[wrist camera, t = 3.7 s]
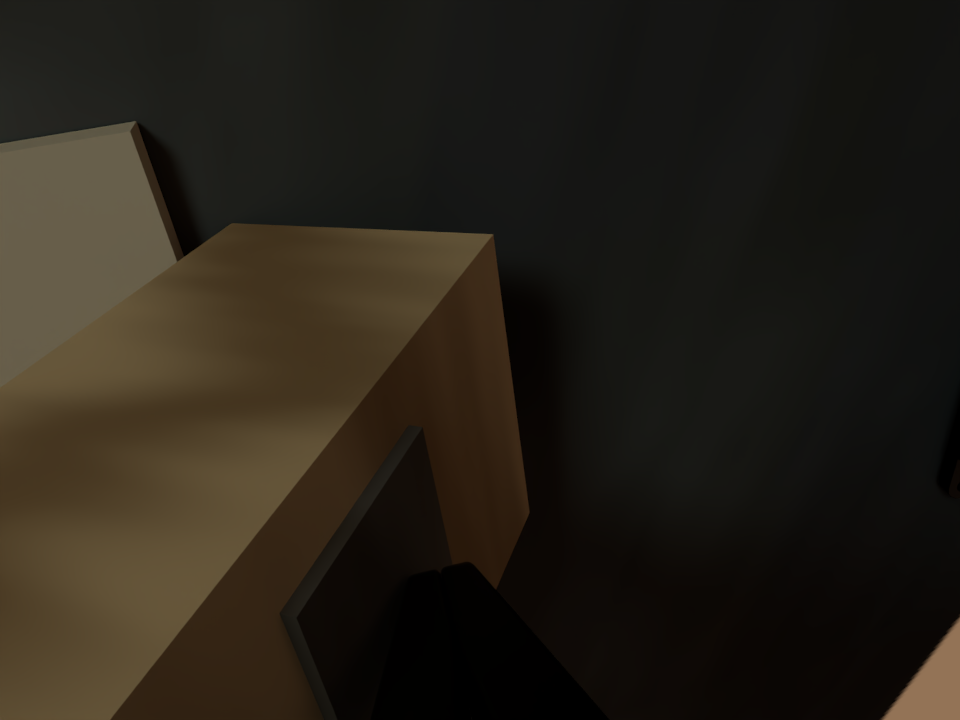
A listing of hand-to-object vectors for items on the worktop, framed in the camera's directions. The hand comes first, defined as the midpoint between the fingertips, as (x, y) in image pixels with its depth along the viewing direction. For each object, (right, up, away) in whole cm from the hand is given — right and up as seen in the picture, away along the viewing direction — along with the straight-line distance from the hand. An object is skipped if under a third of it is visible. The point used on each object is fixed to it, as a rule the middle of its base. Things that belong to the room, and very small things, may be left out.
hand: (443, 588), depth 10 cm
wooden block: (-1, +3, +4) cm, 5 cm away
